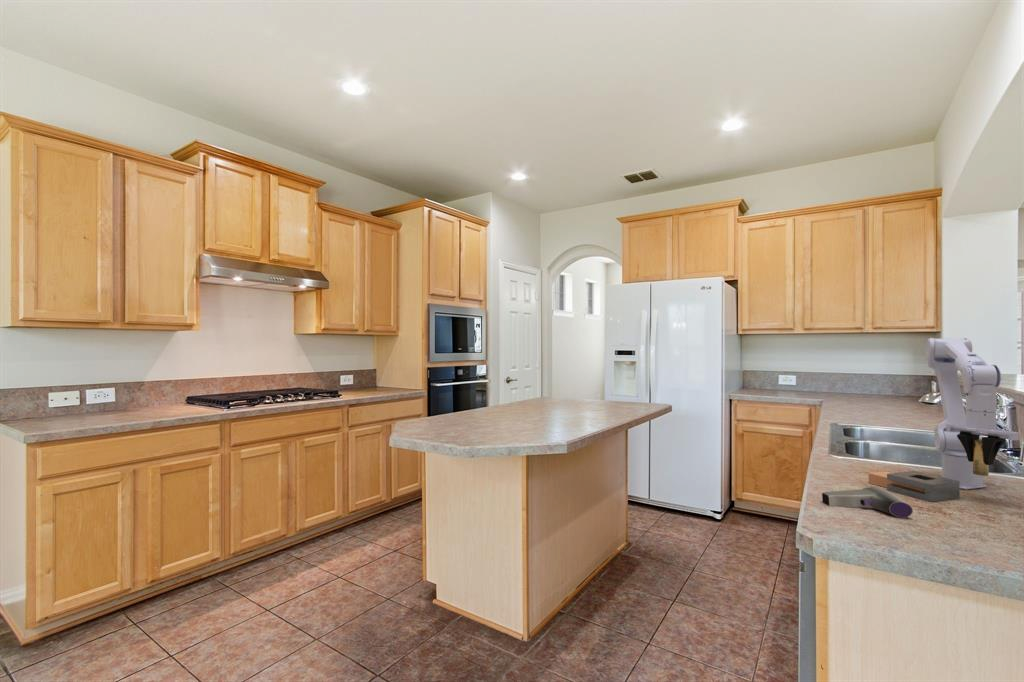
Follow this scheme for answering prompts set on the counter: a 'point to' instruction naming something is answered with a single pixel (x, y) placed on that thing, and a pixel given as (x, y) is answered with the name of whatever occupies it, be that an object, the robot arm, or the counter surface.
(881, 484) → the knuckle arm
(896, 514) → the infrared thermometer
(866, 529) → the counter surface
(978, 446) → the brass pin
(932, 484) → the bracket
